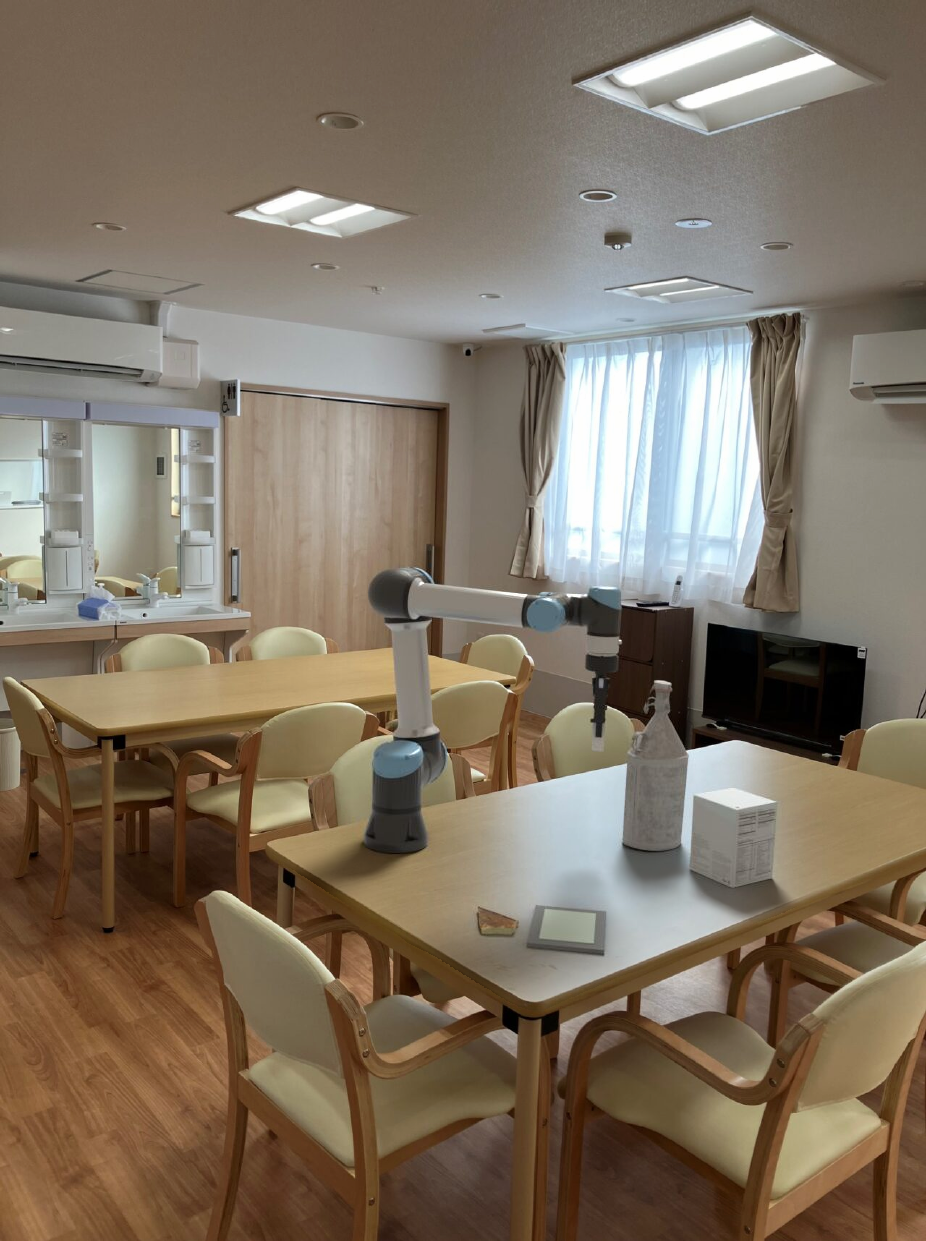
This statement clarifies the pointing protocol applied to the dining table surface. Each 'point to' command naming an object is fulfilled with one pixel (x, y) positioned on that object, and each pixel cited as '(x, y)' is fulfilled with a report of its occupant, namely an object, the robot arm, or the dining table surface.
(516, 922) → the shard
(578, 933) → the mat
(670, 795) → the grey stoneware bottle
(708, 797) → the supplement box
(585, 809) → the dining table surface
